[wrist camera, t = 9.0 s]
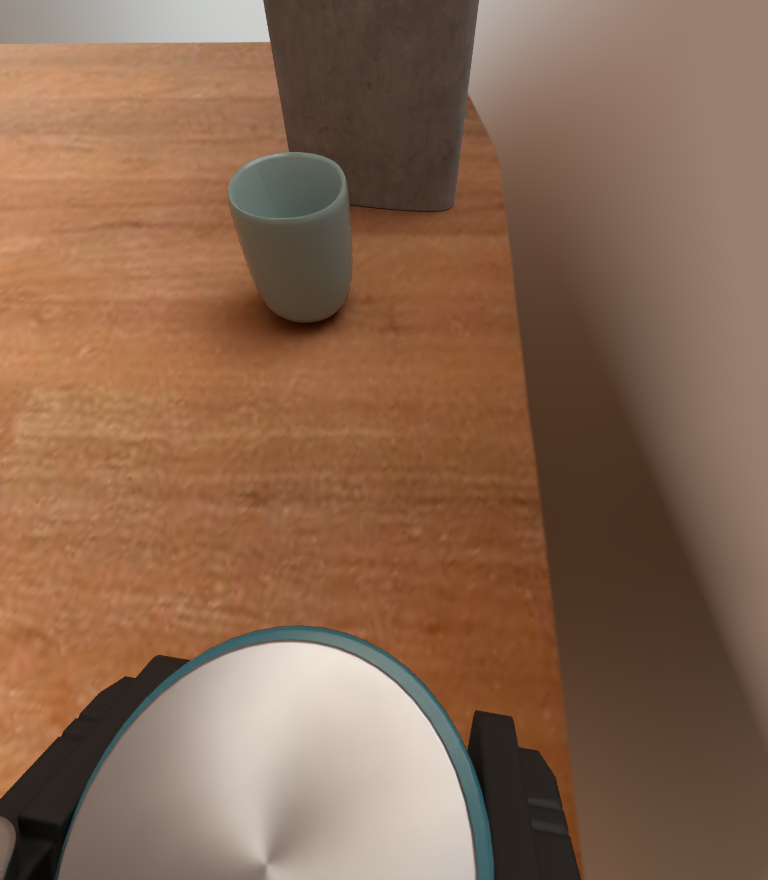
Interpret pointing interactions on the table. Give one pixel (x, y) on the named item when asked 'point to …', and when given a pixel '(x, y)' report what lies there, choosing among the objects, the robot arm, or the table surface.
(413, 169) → the hip flask
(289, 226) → the cup
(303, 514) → the table surface
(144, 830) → the drink can
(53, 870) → the robot arm
